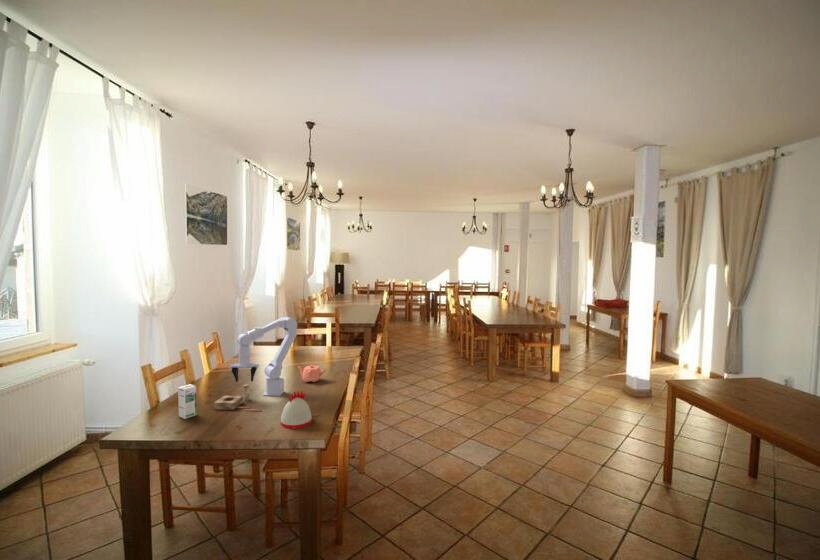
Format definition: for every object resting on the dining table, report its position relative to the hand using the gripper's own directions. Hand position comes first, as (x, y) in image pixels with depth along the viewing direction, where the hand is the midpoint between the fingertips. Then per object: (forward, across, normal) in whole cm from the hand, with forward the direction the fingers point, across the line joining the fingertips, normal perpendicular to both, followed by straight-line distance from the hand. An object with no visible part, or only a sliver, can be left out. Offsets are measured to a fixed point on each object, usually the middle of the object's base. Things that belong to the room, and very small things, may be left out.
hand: (244, 381), depth 209 cm
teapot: (+10, -33, -28) cm, 44 cm away
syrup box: (+10, +21, +20) cm, 31 cm away
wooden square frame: (+10, +6, +9) cm, 15 cm away
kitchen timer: (+10, -31, +34) cm, 47 cm away
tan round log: (+10, -1, +1) cm, 10 cm away
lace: (+10, -4, +15) cm, 19 cm away
